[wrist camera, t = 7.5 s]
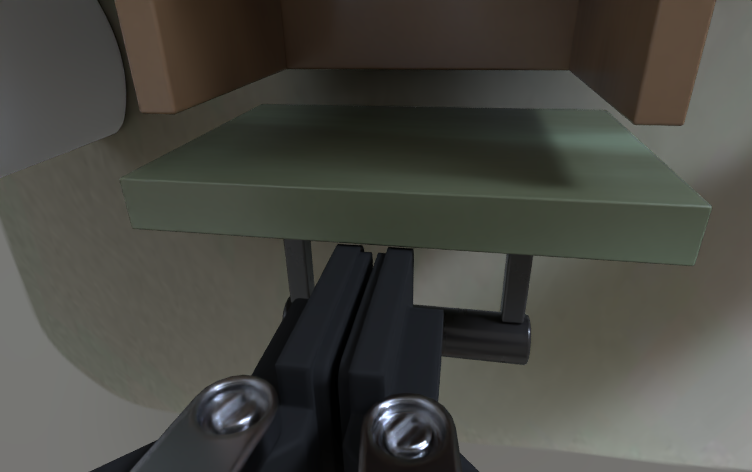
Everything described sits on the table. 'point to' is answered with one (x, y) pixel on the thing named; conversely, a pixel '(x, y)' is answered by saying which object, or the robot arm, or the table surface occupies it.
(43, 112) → the eye dropper bottle
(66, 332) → the table surface
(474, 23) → the drawer
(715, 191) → the table surface
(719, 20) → the table surface
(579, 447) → the table surface
